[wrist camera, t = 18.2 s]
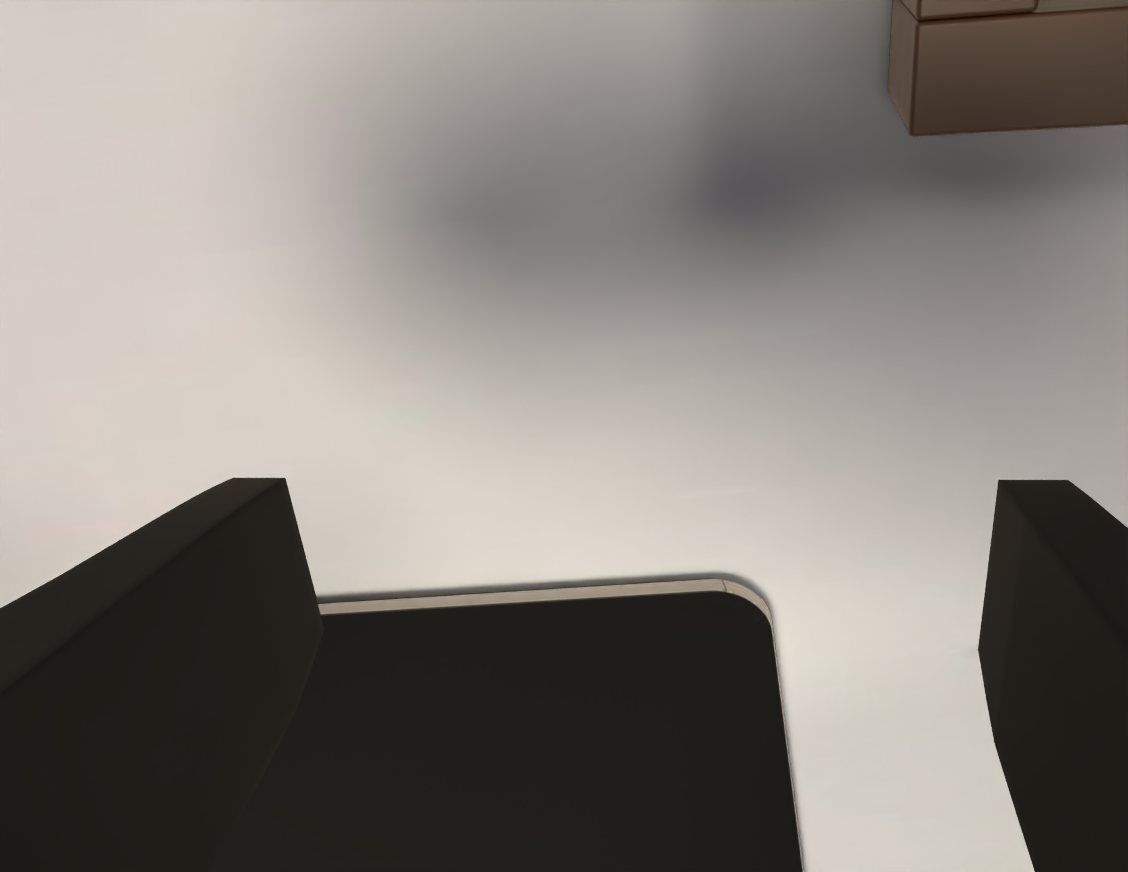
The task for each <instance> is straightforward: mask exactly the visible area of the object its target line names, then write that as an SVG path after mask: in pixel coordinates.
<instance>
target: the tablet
mask: <svg viewBox="0 0 1128 872" xmlns="http://www.w3.org/2000/svg"><path fill="white" fill-rule="evenodd" d="M318 606H319V610H320V614H321V618H322V622H323V625H324V632H323V635H322V638H321V641H320V644H319V647H318V650H317V653H316V656H315V659H314V662H313V665H312V669H311V672H310V674H309V677H308V680H307V683H306V685H305V688H304V691H303V693H302V696H301V699H300V701H299V704H298V707H297V709H296V712H295V714H294V716H293V718H292V720H291V722H290V724H289V726H288V728H287V730H286V732H285V734H284V736H283V738H282V740H281V742H280V743H279V745H278V747H277V749H276V751H275V753H274V755H273V757H272V759H271V761H270V763H269V765H268V767H267V769H266V771H265V773H264V775H263V777H262V778H261V780H260V782H259V784H258V786H257V788H256V790H255V792H254V794H253V795H252V797H251V799H250V801H249V803H248V805H247V807H246V809H245V811H244V813H243V814H242V816H241V818H240V820H239V822H238V824H237V826H236V828H235V830H234V832H233V833H232V835H231V837H230V839H229V841H228V843H227V845H226V847H225V849H224V851H223V852H222V854H221V856H220V858H219V860H218V862H217V864H216V866H215V868H214V869H213V871H212V872H804V870H803V862H802V854H801V847H800V839H799V831H798V823H797V815H796V807H795V799H794V791H793V783H792V775H791V767H790V760H789V752H788V744H787V736H786V728H785V720H784V712H783V704H782V696H781V688H780V680H779V673H778V665H777V657H776V649H775V641H774V633H773V625H772V618H771V614H770V611H769V609H768V607H767V605H766V604H765V602H764V601H763V600H762V599H761V598H760V597H759V596H758V595H757V594H756V593H755V592H753V591H752V590H751V589H749V588H747V587H745V586H743V585H741V584H738V583H736V582H732V581H728V580H722V579H705V580H689V581H673V582H657V583H642V584H626V585H610V586H595V587H579V588H563V589H547V590H532V591H516V592H500V593H485V594H469V595H453V596H437V597H422V598H406V599H390V600H375V601H359V602H343V603H327V604H318Z"/></svg>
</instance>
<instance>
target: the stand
mask: <svg viewBox="0 0 1128 872" xmlns="http://www.w3.org/2000/svg"><path fill="white" fill-rule="evenodd" d="M888 93H889V95H890V97H891V99H892V101H893V103H894V105H895V107H896V109H897V111H898V113H899V115H900V117H901V119H902V121H903V123H904V125H905V127H906V129H907V131H908V133H909V135H910V136H913V137H918V136H936V135H954V134H972V133H990V132H1008V131H1026V130H1045V129H1063V128H1081V127H1099V126H1117V125H1128V0H893V3H892V22H891V42H890V62H889V81H888Z"/></svg>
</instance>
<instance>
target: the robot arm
mask: <svg viewBox="0 0 1128 872" xmlns="http://www.w3.org/2000/svg"><path fill="white" fill-rule="evenodd" d="M323 632H324V625H323V622H322V618H321V614H320V610H319V606H318V602H317V598H316V595H315V591H314V587H313V583H312V579H311V575H310V571H309V568H308V564H307V560H306V556H305V552H304V548H303V544H302V541H301V537H300V533H299V529H298V525H297V521H296V517H295V514H294V510H293V506H292V502H291V498H290V494H289V490H288V487H287V483H286V479H285V478H232V479H230V480H227V481H225V482H223V483H221V484H218V485H216V486H214V487H212V488H210V489H208V490H206V491H204V492H202V493H201V494H199V495H197V496H195V497H193V498H191V499H190V500H188V501H186V502H184V503H182V504H181V505H179V506H177V507H175V508H174V509H172V510H170V511H168V512H167V513H165V514H163V515H162V516H160V517H158V518H156V519H155V520H153V521H151V522H150V523H148V524H146V525H145V526H143V527H141V528H140V529H138V530H136V531H135V532H133V533H131V534H129V535H128V536H126V537H124V538H123V539H121V540H119V541H118V542H116V543H114V544H113V545H111V546H109V547H108V548H106V549H104V550H102V551H101V552H99V553H97V554H96V555H94V556H92V557H91V558H89V559H87V560H86V561H84V562H82V563H80V564H79V565H77V566H75V567H74V568H72V569H70V570H69V571H67V572H65V573H63V574H62V575H60V576H58V577H56V578H55V579H53V580H51V581H49V582H47V583H46V584H44V585H42V586H40V587H38V588H37V589H35V590H33V591H31V592H29V593H27V594H26V595H24V596H22V597H20V598H18V599H17V600H15V601H13V602H11V603H9V604H7V605H6V606H4V607H2V608H0V872H212V871H213V869H214V868H215V866H216V864H217V862H218V860H219V858H220V856H221V854H222V852H223V851H224V849H225V847H226V845H227V843H228V841H229V839H230V837H231V835H232V833H233V832H234V830H235V828H236V826H237V824H238V822H239V820H240V818H241V816H242V814H243V813H244V811H245V809H246V807H247V805H248V803H249V801H250V799H251V797H252V795H253V794H254V792H255V790H256V788H257V786H258V784H259V782H260V780H261V778H262V777H263V775H264V773H265V771H266V769H267V767H268V765H269V763H270V761H271V759H272V757H273V755H274V753H275V751H276V749H277V747H278V745H279V743H280V742H281V740H282V738H283V736H284V734H285V732H286V730H287V728H288V726H289V724H290V722H291V720H292V718H293V716H294V714H295V712H296V709H297V707H298V704H299V701H300V699H301V696H302V693H303V691H304V688H305V685H306V683H307V680H308V677H309V674H310V672H311V669H312V665H313V662H314V659H315V656H316V653H317V650H318V647H319V644H320V641H321V638H322V635H323ZM978 651H979V657H980V663H981V669H982V675H983V681H984V688H985V694H986V700H987V705H988V710H989V716H990V721H991V727H992V732H993V737H994V743H995V746H996V749H997V753H998V756H999V759H1000V762H1001V766H1002V769H1003V772H1004V775H1005V779H1006V782H1007V785H1008V788H1009V791H1010V795H1011V798H1012V801H1013V804H1014V807H1015V811H1016V814H1017V817H1018V820H1019V823H1020V826H1021V830H1022V833H1023V836H1024V839H1025V842H1026V845H1027V848H1028V852H1029V855H1030V858H1031V861H1032V864H1033V867H1034V870H1035V872H1128V528H1127V527H1126V526H1125V525H1123V524H1122V523H1121V522H1120V521H1119V520H1117V519H1116V518H1115V517H1114V516H1112V515H1111V514H1110V513H1109V512H1108V511H1106V510H1105V509H1104V508H1103V507H1102V506H1100V505H1099V504H1098V503H1097V502H1096V501H1094V500H1093V499H1092V498H1091V497H1089V496H1088V495H1087V494H1086V493H1084V492H1083V491H1082V490H1081V489H1079V488H1078V487H1077V486H1075V485H1074V484H1073V483H1071V482H1070V481H1069V480H998V489H997V497H996V505H995V514H994V522H993V530H992V539H991V547H990V555H989V563H988V572H987V580H986V588H985V597H984V605H983V613H982V622H981V630H980V638H979V647H978Z"/></svg>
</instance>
